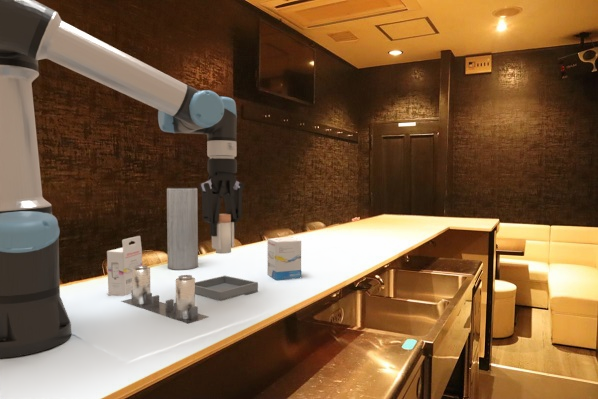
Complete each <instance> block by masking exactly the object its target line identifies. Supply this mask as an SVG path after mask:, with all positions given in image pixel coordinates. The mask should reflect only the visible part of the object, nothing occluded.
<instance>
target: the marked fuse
mask: <svg viewBox="0 0 598 399" xmlns="http://www.w3.org/2000/svg"><path fill="white" fill-rule="evenodd" d="M217 224H221V249H215V253H216V254H219V255H220V254H223V255H224V254H230V253H232V247H231V214H226V213H219V220H218V223H217Z"/></svg>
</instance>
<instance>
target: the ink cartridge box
mask: <svg viewBox="0 0 598 399" xmlns="http://www.w3.org/2000/svg"><path fill="white" fill-rule="evenodd" d="M141 240H142V239H141V235H136V236H133V237H128V238H124V239H122V240H121V244H122V247H118V248H116V249H115V248H114V249H111V250H110V249H109V250H107V251H106V258H107V259H106V260H107V264H106V265H107V286H108V287H107V289H108V291H107V292H108V294H107V295H108V296H109V297H110V296H122V297H124V296H128V295H130V294H132V290H133V281H132V269H134V268H135V266H139V265H143V248H142V241H141ZM131 242H134V243H131ZM130 243H131V244H130Z"/></svg>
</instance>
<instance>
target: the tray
mask: <svg viewBox="0 0 598 399" xmlns="http://www.w3.org/2000/svg"><path fill="white" fill-rule="evenodd" d="M258 292H259V283H258V281H253V280H248V279H242V278H238V277H234V276H229V275H222V276H217V277H211V278H209V279H208V278H207V279H204V280H200V281H195V296H198V297H199V296H200V297H204V298H208V299H211V300H215V301H220V302H222V301H225V300H229V299H232V298H233V299H234V298H237V297H240V296H247V295H250V294H255V293H258Z"/></svg>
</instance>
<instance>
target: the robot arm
mask: <svg viewBox="0 0 598 399" xmlns="http://www.w3.org/2000/svg"><path fill="white" fill-rule="evenodd" d="M45 59H46V60H50V61H51V62H53V63H56V64H58V65H60V66H62V67H65V68H67V69H69V70H71V71H73V72H75V73H78V74H80V75H82V76H84V77H86V78H89V79H91V80H93V81H95V82H98V83H99V84H101V85H104V86H105V87H108V88H111V89H113V90H114V91H117V92H119V93H121V94H124V95H126V96H128V97H129V98H132V99H134V100H136V101H139V102H141V103H143V104H145V105H148V106H150V107H152V108H154V109H155V110H158V112H157V121H158V125H159V129H160V130H161V131H162V132H163V133H164V132H165V133H172V134H194V135H195V134H197V135H206V141H207V142H206V146H207V147H206V149H207V150H206V152H207V153H206V154H207V157H208V159H207V172H208V174H209V176H208V178H207V180H206V181H205V182H200V183H199V184H198V185H199V189H200V192H201V208H202V209H201V211H202V221H203V222H206V223H207V224H209V236H210V237H211V249H214V250H216V249H221V224H217V223H218V220H219V214H220V212H221V205H222V204H221V203H222V199H223V202H224V206H225V208H224V209H225V214H231V248H234V247H235V234H236V232H237V230H236V229H237V228H236V227H237V226H236V223H238V222H239V220H241V219H242V217H243V216H242V214H243V212H242V210H243V189H244V187H245V183H244V182H239V181H238V180H237V178H236V173H237V171H238V167H237V166H238V161H237V159H236V157H237V154H238V153H237V152H238V151H237V148H238V146H237V118H238V115H237V104H236V101H235V100H234V99H233V98H231V97H228V96H219V94H217V93H216V92H215V91H212V90H209V89H208V90H207V89H206V90H202V89H201V90H198V89H197V88H194V87H192V86H190V85H188V84H186V83H184V82H182V81H181V80H178V79H176V78H174V77H172V76H171V75H169V74H166V73H164V72H162V71H161V70H158V69H157V68H155V67H153V66H151V65H149V64H147V63H145V62H143V61H141V60H140V59H137V58H136V57H133V56H131V55H129V54H128V53H125V52H123V51H121V50H119V48H118V49H117V48H116V47H113V46H112V45H110V44H108V43H106V42H104V41H102V40H100V39H99V38H96V37H95V36H93V35H90V34H88V33H87V32H85V31H83V30H81V29H79V28H77V27H76V26H73V25H71V24H69V23H67V22H65V21H64V20H62V18H61V16H60V15H59V12H58V11H56V10H55V9H52V8H50V7H48V6H46V5H45V4H43V3H41V2H39V1H36V0H0V358H1V359H2V358H14V357H20V356H26V355H31V354H32V355H33V354H35V353H40V352H44V351H46V350H49V349H53V348H54V347H57V346H60V345H61V344H63V343H65V342H66V341H67V340H69V339H70V338H71V336H72V322H71V320H70V317H69V315H68V313H67V312H68V311H67V310H66V308H65V305H64V302H63V300H62V298H61V291H60V290H61V289H60V288H61V287H60V245H59V244H60V243H59V241H60V240H59V237H60V226H59V222H58V219H57V217H56V216H55V215H53V208H52V206H53V205H52V204H51V203H50V202H49V201H47V200H46V199H45V198H44V197H43V188H42V178H41V170H40V157H39V148H38V147H39V146H38V136H37V127H36V126H37V124H36V118H35V106H34V97H33V96H34V95H33V87H32V85H33V84H32V83H33V82H34V81H35V80H36V79H37V78H38V77H39V76H40V73H39V60H45Z"/></svg>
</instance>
